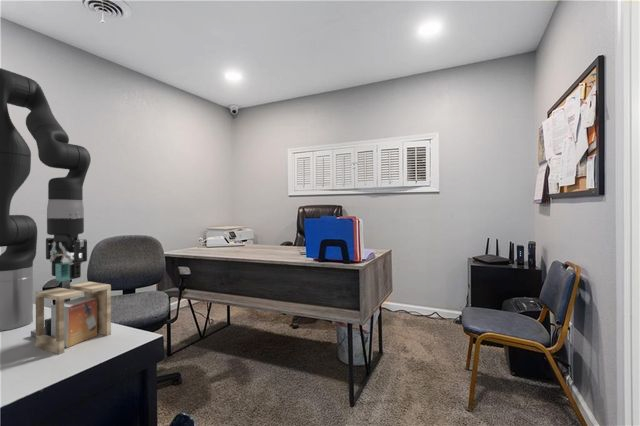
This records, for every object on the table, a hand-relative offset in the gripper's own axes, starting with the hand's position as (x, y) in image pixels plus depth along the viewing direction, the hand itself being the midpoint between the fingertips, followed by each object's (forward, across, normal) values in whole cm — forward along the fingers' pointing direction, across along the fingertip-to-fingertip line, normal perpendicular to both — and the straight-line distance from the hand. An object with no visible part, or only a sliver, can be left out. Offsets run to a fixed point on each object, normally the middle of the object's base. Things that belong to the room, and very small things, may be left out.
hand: (66, 276), depth 78 cm
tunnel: (+17, +4, 0) cm, 17 cm away
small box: (+17, +4, 0) cm, 17 cm away
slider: (+17, 0, 0) cm, 17 cm away
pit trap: (+17, -6, +2) cm, 18 cm away
